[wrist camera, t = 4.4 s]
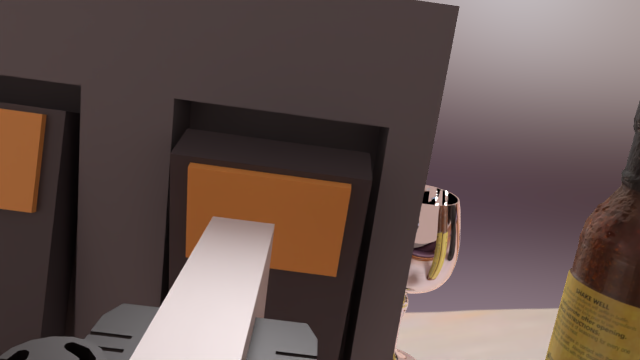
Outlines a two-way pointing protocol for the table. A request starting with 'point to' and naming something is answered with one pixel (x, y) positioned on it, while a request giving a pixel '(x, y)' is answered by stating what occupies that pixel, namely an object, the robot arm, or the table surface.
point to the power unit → (232, 122)
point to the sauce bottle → (605, 278)
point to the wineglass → (433, 247)
